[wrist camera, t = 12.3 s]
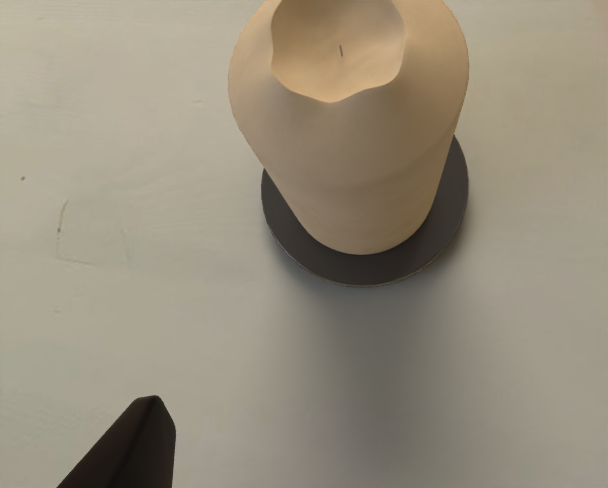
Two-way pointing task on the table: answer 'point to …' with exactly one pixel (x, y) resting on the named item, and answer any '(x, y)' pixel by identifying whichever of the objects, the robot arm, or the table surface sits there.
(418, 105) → the candle
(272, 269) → the table surface
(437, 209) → the coaster
